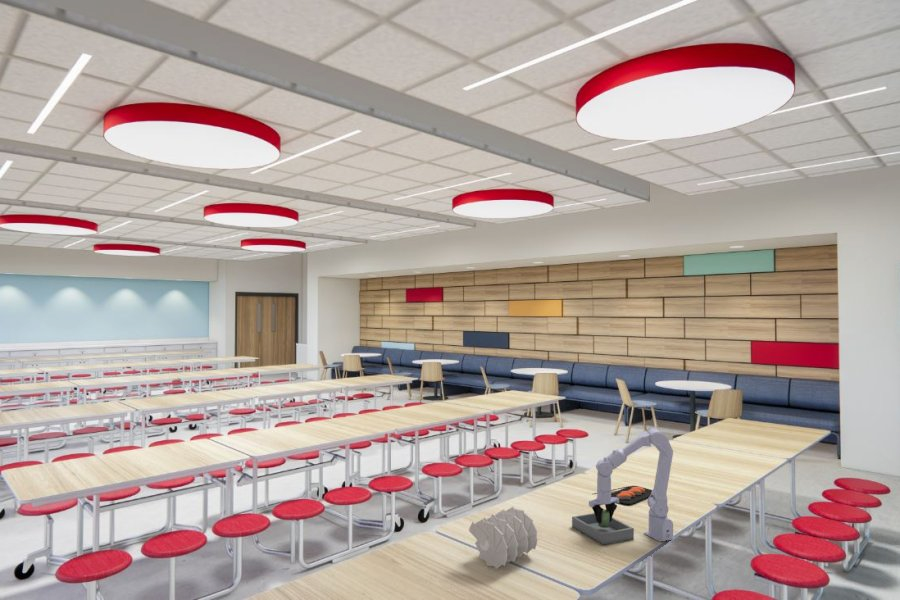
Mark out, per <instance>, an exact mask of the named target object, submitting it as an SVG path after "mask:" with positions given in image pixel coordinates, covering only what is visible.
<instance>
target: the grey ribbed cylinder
mask: <svg viewBox="0 0 900 600" xmlns="http://www.w3.org/2000/svg"><path fill="white" fill-rule="evenodd" d="M469 526H470V527H469V529H468V531H469V533H470V534H471V535H472V536H473V537H474V538H475V539H476V541H475V543H474V544H475V546H476V548H477V550H478V552H479V555H478V557H479V558H480V559H482V560H483V561H484V562H485V563H486V566H487V567H494V568H495V570H498V569H499V568H500V567H501V566H504V567H505V566H506V565H507V564H508V563H510V562H511V561H512V562H515V561H516V558H520V557H521V556H522V555H523V554H524V553H525V554H528V553H530V551H532V550H536V547H537V545H538V532H539V531H538V530H537V528H536V526H535V524H534V519H533V518H532V517H530V516H529V514H527V513H526V512H525V510H524V509H523V510H522V509H518V508H515V507H514V506H512V507H510V508H508V509H507V510H506V509H505V508H504V509H502V510H500V511H499V512H497V513H496V514H494V513H492V514H491V517H487V516H484V518H482V519H481V520H479V521H477V522H474V521H472V522H471V524H470V525H469Z"/></svg>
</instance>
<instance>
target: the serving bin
mask: <svg viewBox="0 0 900 600" xmlns="http://www.w3.org/2000/svg"><path fill="white" fill-rule="evenodd" d="M571 528H573V529H574V530H576V531H577V532H579V533H581V534H583V535H584V536H586V537H588V538H589V539H591V540H593V541H594V542H595V543H597V544H599V545H601V546H607V545H613V544H616V543H622V542H626V541H632V539H633V540H634V539H635V538H634V537H635V536H634V535H635V534H634V533H635V531H634V530H635V528H634V527H632V526H630V525H629V524H626V523H625V522H623V521H620V520H619V519H616V518H614V517H613V516H612V520H611V522H610V527H608V528H603V527H599V526H598V522H597V521H596V517H595V513H594V512H592V513H586V514H580V515H574V516H572V517H571Z"/></svg>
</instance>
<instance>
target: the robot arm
mask: <svg viewBox="0 0 900 600" xmlns="http://www.w3.org/2000/svg"><path fill="white" fill-rule="evenodd" d="M669 440H670V439H669V438H668V437H667V436H666V434H665V433H663V432H661V431H660V430H659V429H658V428H657V427H649V428H648V429H647V430H645V431H642V433H640V434H639V435H638V436H637V437H636V438H635V439H633V440H632V441H631V442H629V443H628V444H627V445H626V446H624V447H623V448H622V449H620V448H617V449H613V450H612V451H611V453H609V454H608V455H607V456H603V459H600V460H597V463H596V465H595V468H596V470H597V478H596V493H597V494H596V498H595V499H592V500H588V507H590V508H591V509H592V511H593V513H595V517H596V521H597V522H598V523H599V524H600V523H601V520H602V512H603V509H604V507H602V506H603V505H604V506H605V510H608V511H610V522H611V520H612V517H613V515H614V514H615V511H616V509H617V507H618V505H617V504H620V502H619V498H617V497H611V492H612V491H611V490H612V476H611V475H612V474H613V471H614V470H615V469H617V468H618V467H620V466H621V465H622V464H624V463H625V462H627V459H628V457H629V456H631V455H632V454H634V453H635V452H636V451H638V450H639V449H641V448H642V447H650V448H651V447H652V446H653V447H654V448H656V450H657V451H658V452H659V453H658V454H659V455H658V460H657V466H656V472H655V479H654V485H653V489H651V490H652V491H651V495H650V496H649V497H647V501H646V502H647V506H648V507H649V510H648V530H647V531H643V534H645V535H647V536H648V537H650V538H652V539H654V540H656V541H658V540H659V541H658V542H660V543H661V541H663V542H666V540H667V541H671V540H675V538H676V537H674V523H673V521H672V520H671V519H670V518H669V517H668V514H669V506H668V502H669V501H668V495H667V493H668V486H669V480H670V474H671V466H672V463H673V462H672V461H673V456H674V450H673V447H672V445H671V442H670V441H669Z"/></svg>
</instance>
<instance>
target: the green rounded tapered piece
mask: <svg viewBox="0 0 900 600" xmlns="http://www.w3.org/2000/svg"><path fill="white" fill-rule="evenodd" d="M598 526H599V527H603V528H608V527H610V511H608V510H606V508H605V509H604V508H603V512H602V520H601V523H600V524H599V523H598Z"/></svg>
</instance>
